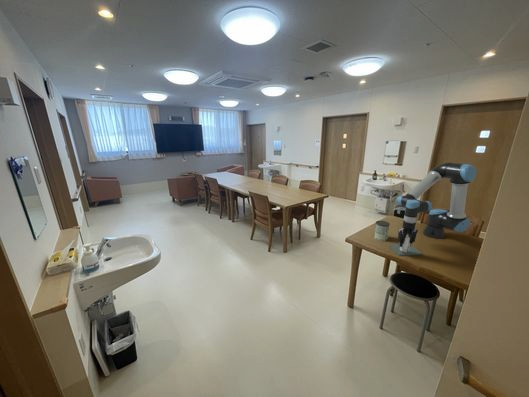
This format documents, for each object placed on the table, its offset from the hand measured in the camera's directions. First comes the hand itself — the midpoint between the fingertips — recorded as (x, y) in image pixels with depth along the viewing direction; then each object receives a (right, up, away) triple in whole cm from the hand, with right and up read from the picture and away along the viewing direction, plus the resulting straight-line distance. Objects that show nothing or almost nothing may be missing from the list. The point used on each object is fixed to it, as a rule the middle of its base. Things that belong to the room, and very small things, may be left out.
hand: (404, 250), depth 158 cm
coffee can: (-4, +4, +25) cm, 26 cm away
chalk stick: (0, -1, 0) cm, 1 cm away
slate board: (+3, -1, +5) cm, 6 cm away
